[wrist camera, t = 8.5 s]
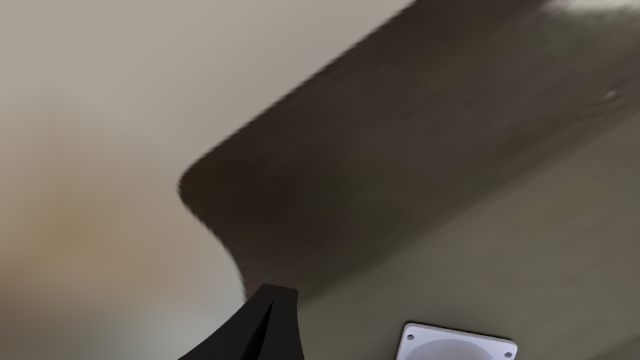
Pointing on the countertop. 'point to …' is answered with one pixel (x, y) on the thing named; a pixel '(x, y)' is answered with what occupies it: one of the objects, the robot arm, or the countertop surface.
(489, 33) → the countertop surface
